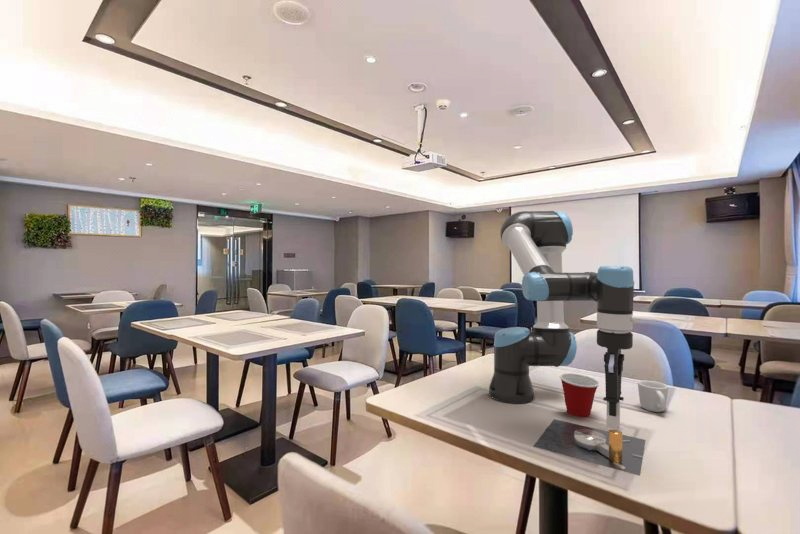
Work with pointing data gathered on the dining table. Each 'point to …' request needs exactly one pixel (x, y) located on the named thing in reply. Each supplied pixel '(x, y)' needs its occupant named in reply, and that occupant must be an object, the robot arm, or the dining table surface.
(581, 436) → the metal measuring spoon
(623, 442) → the panel
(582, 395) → the plastic cup
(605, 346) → the robot arm
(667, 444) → the dining table surface
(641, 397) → the cup
